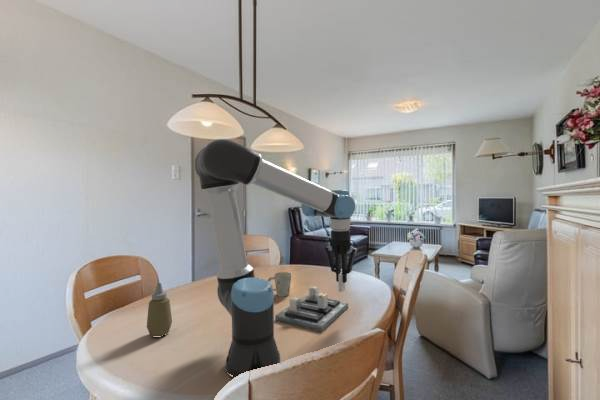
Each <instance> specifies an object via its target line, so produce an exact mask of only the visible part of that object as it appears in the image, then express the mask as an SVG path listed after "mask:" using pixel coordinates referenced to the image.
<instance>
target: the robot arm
mask: <svg viewBox="0 0 600 400" xmlns="http://www.w3.org/2000/svg"><path fill="white" fill-rule="evenodd" d="M194 169H195V172H196V174H197V176H198V178H199V183H200V189H201V191H202V192H203V193H205V194H206V195H207V200H208V206H209V210H210V216H211V221H212V226H213V227H212V228H213V233H214V239H215V243H216V249H217V255H218V261H219V267H220V269H219V271H218V272H217V273H216V278H217V297H218V300H219V302H220V304H221V305H222V306H223V307H224V308H225V309H226V311H227V312H228V314H229V315H230V316H231V343H230V346H229V349H228V353H227V356H226V359H225V371H226V370H227V372H228V373H229V374H231V375H233V378H234V377H236V376H238V375H239V374H241V373H244V372H246V371H250V370H253V369H257V368H261V367H265V366H269V365H273V364H277V363H280V364H281V354H280V351H279V350H278V346H277V342H276V340H275V335H274V334H275V333H274V332H275V331H274V329H275V325H274V324H275V323H274V321H275V319H274V318H275V316H274V313H275V312H274V311H275V310H274V309H275V307H274V306H275V305H274V301H275V295H274V291H273V289H274V288H273V285H272V284H271V282H268V281H267V280H268V279H267V280H266V279H264V278H260V277H255V276H256V275H255V270H254V267H253V265H251V264H249V262H248V259H247V253H246V246H245V240H244V234H243V227H242V222H241V216H240V211H239V205H238V199H237V198H238V197H237V194H236V193H237V192H236V191H237V189H238V187H239V186H240V183H241V184H243V185H246V186H248V185H251V184H253V185H255V186H258V187H260V188H263V189H265V190H267V191H269V192H273V193H275V194H277V195H280V196H282V197H285V198H287V199H289V200H292V201H294V202H297V203H299V204H301V205H300V206H301V212H302V214H303V215H304V216H305V217H325V218H326V217H327V218H329V219H330V230H331V231H330V243H329V245H328V246H326V247H324V250H325V252H326V253H327V257H328V262H329V266H330V270H331V272H332V273H333V272H334V273H335V274H336V275H335V277H336V278H335V280H336V282H337V283H338V292H344V291H346V283H347V281H348V274H350V273H351V272H352V271H353V265H354V261H355V257H356V254H357V252H358V248H356V247H354V246H352V245H353V244H352V242H351V230H350V229H351V216H352V215H354V213H355V211H356V203H355V200H354V198H353V197H352V196H350V192H349V190H348V189H334V190H333V189H332V190H330V189H327V188H325V187H324V186H321V185H319V184H317V183H314V182H313V181H310V180H308V179H306V178H304V177H302V176H300V175H297V174H295V173H293V172H290V171H289V170H287V169H285V168H283V167H280V166H278V165H276V164H273V163H272V162H270V161H267V160H266V159H263V157H262V155H261V154H260V153H258V152H256V151H254V150H252V149H250V148H249V147H246V146H244V145H242V144H240V143H238V142H235V141H232V140H230V139H224V138H223V139H216V140H215V139H214V140H212V141H211V142H209V143H208V144H207V145H206V146H204V147H203V148H201V150H199V152H198V153H197V154H196V157H195V160H194ZM333 252H334V253H333ZM349 252H350V254H349V257H348V253H349ZM227 372H226V373H227ZM233 378H232V379H233Z"/></svg>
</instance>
